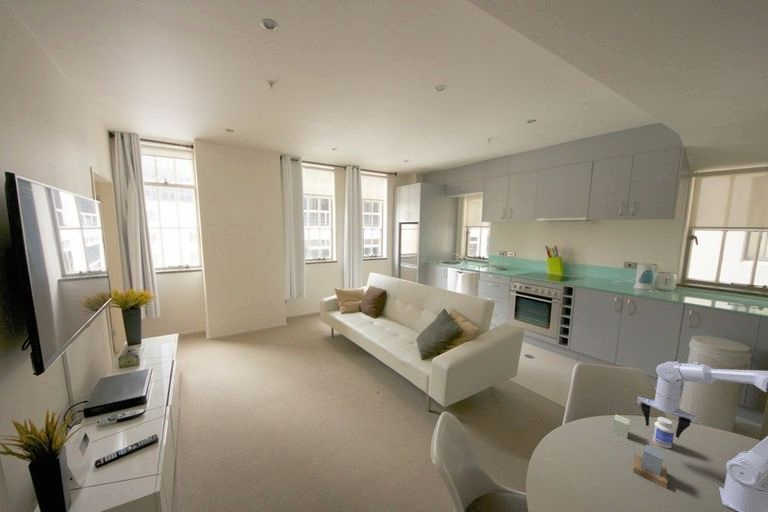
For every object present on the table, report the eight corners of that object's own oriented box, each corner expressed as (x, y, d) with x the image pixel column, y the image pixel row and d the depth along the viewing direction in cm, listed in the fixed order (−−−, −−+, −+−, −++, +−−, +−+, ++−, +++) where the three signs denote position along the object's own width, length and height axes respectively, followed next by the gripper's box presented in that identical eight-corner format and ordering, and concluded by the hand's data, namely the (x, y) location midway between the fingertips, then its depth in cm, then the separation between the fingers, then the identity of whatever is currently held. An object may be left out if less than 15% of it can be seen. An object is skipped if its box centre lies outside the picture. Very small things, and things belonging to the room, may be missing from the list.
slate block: (661, 468, 93) (663, 452, 93) (659, 476, 90) (662, 459, 90) (643, 459, 97) (645, 444, 96) (641, 466, 94) (643, 450, 93)
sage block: (628, 433, 112) (629, 419, 111) (627, 439, 109) (628, 425, 108) (613, 427, 115) (615, 414, 115) (612, 432, 112) (614, 419, 112)
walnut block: (665, 474, 94) (666, 468, 94) (666, 490, 88) (667, 483, 88) (634, 460, 100) (635, 454, 99) (632, 474, 94) (633, 467, 94)
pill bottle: (675, 450, 104) (679, 426, 103) (659, 447, 105) (662, 424, 104) (664, 439, 109) (667, 416, 108) (648, 436, 110) (651, 414, 109)
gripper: (696, 399, 96) (690, 435, 97) (640, 382, 106) (635, 414, 108) (698, 408, 91) (692, 446, 92) (639, 389, 101) (634, 423, 103)
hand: (661, 430), depth 100 cm, fingers open, 7 cm apart
